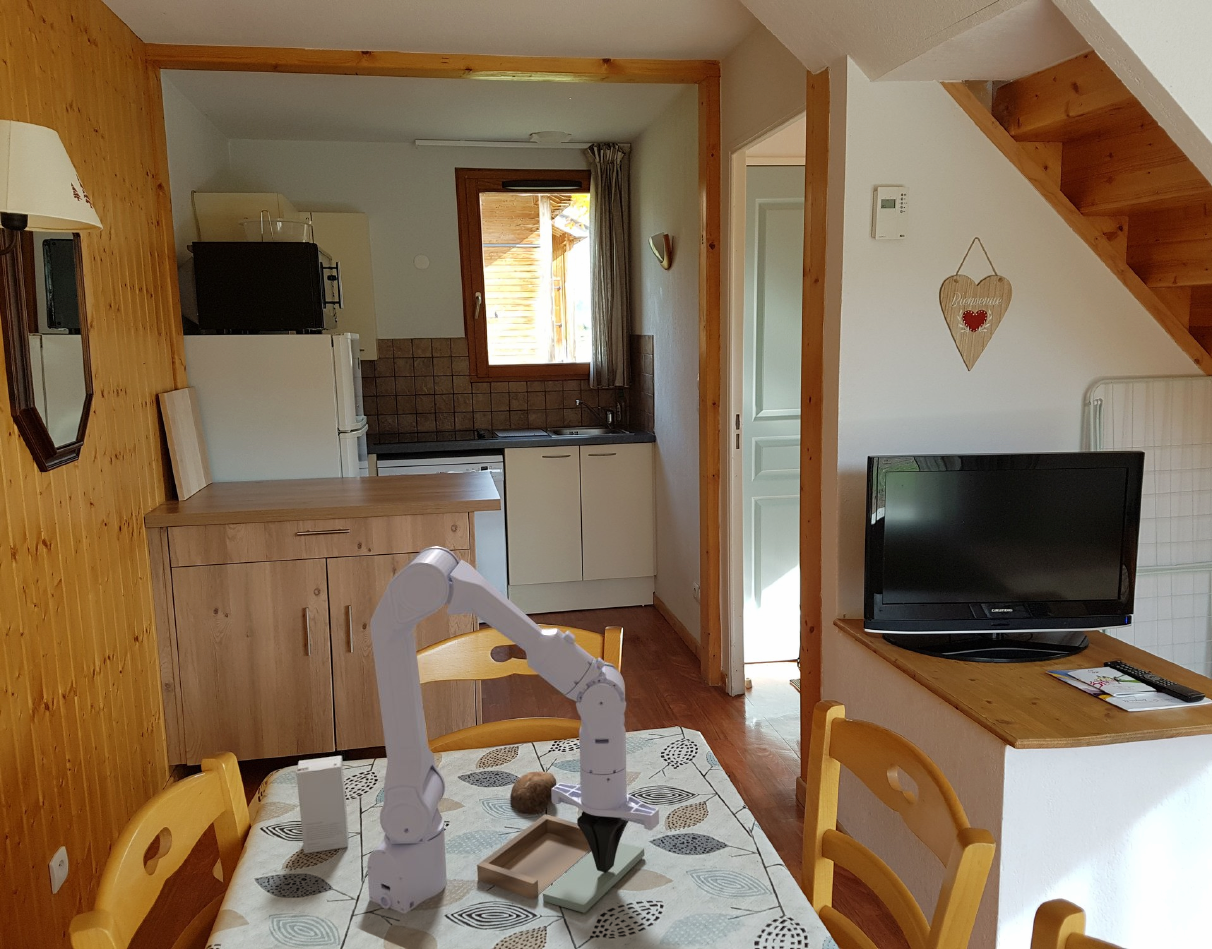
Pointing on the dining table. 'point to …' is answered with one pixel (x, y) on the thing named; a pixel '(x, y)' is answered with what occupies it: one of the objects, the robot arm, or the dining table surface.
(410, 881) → the robot arm
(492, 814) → the dining table surface
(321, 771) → the skincare box
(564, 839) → the crate
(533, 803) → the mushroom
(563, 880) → the panel
